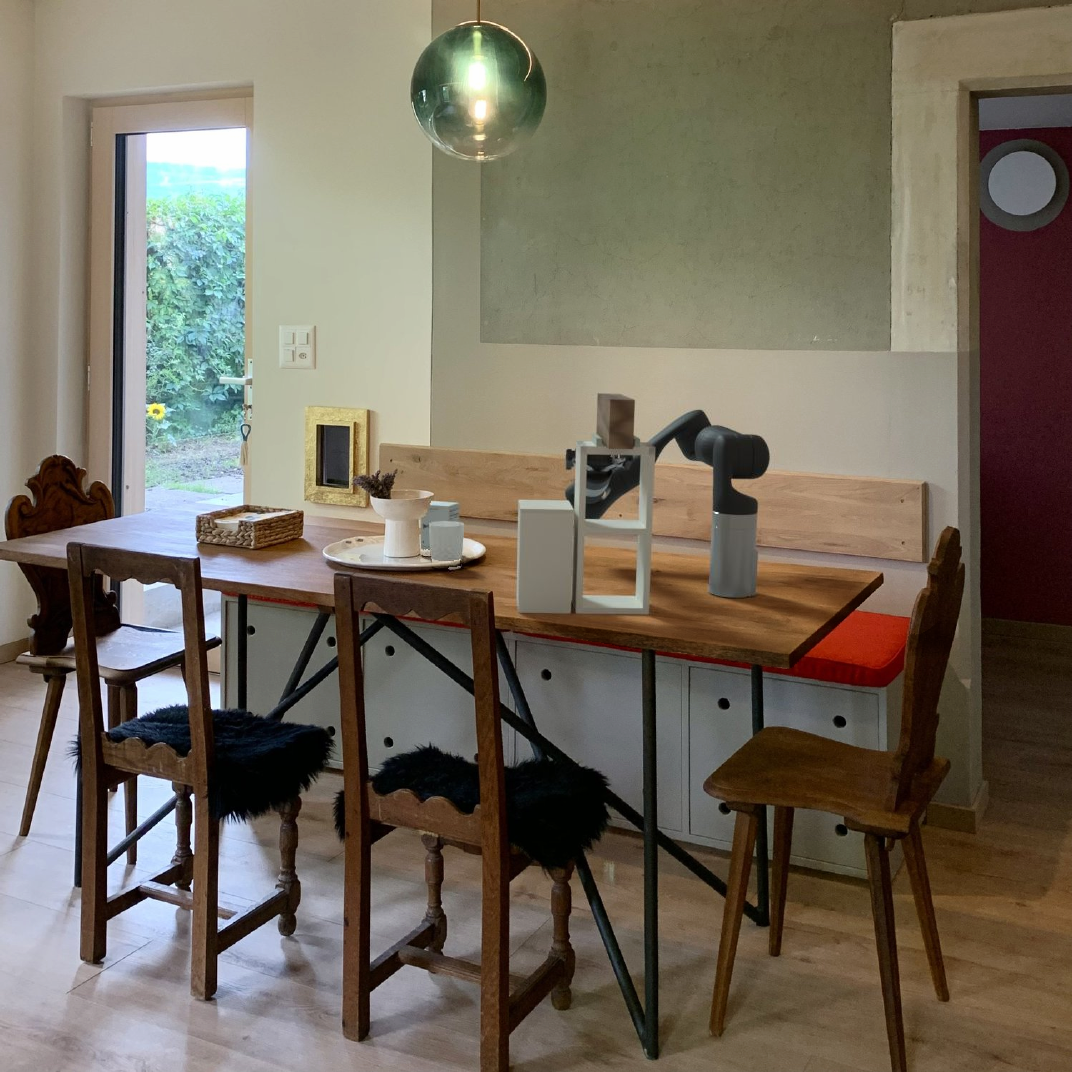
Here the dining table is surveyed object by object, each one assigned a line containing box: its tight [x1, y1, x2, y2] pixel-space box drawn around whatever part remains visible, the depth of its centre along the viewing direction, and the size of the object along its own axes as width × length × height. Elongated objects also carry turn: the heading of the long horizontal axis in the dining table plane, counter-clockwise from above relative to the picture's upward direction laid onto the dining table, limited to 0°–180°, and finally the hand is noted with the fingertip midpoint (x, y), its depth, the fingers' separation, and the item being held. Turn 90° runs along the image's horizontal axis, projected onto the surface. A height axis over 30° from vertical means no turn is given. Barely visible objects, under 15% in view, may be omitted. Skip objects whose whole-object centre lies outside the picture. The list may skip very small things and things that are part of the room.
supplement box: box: [420, 500, 461, 550], centre depth 285 cm, size 7×7×13 cm
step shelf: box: [516, 433, 656, 615], centre depth 232 cm, size 25×13×34 cm, turn 93°
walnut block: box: [595, 392, 636, 449], centre depth 230 cm, size 4×24×9 cm, turn 3°
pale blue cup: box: [429, 521, 465, 571], centre depth 270 cm, size 8×8×10 cm
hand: (602, 446), depth 249 cm, fingers open, 8 cm apart
